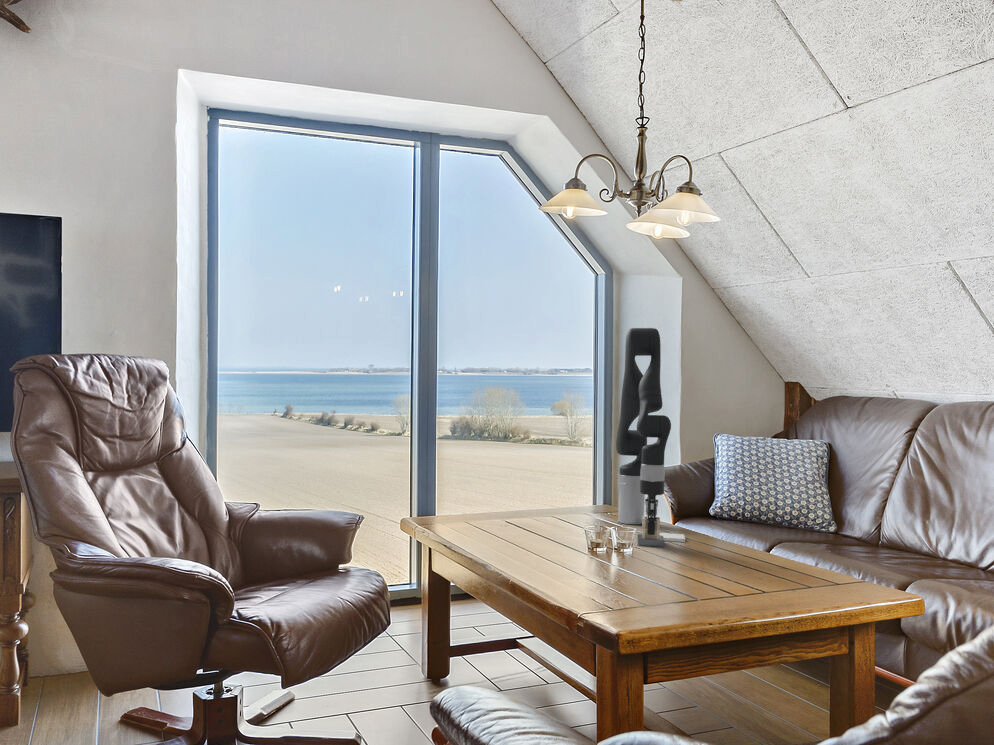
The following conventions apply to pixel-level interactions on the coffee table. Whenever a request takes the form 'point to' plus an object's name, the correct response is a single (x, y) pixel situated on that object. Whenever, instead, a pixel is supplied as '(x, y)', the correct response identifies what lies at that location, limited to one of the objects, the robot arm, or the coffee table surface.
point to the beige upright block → (645, 528)
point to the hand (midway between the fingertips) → (650, 532)
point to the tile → (673, 537)
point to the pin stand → (650, 540)
